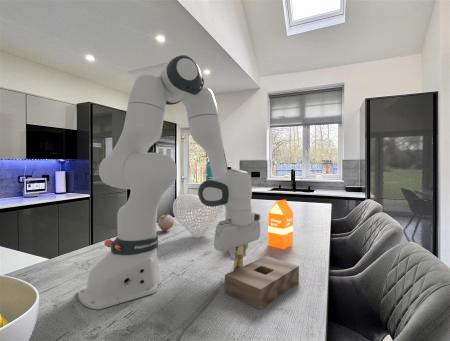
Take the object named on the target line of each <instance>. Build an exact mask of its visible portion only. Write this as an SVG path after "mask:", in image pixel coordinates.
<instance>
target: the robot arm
mask: <svg viewBox="0 0 450 341" xmlns="http://www.w3.org/2000/svg"><path fill="white" fill-rule="evenodd" d="M204 83H205V80H204V78H203V76H202V72H201V69H200V67H199V65H198V64H197V62H196V60H194V59H193V58H192V57H190V56H189V55H184V54H181V55H178V56H176V57H174V58H172V59H171V60H170V61H169V62H168V63H167V65H166V66H165V68H164V69H163V70H162V71H161V72H160V74H159V75H158V76H156V75H153V74H152V75H151V74H142V75H139V76H138V77H136V79H135V80H134V82H133V85H132V88H131V90H130V94H129V98H128V102H127V109H126V112H125V113H126V115H125V117H124V118H125V120H124V124H123V129H122V132H121V134H120V137H119V138H118V141H117V142H116V144H115V146H114V147H113V149H112V150H111V152H110V153H109V154H108V155H107V156H105V158H103V159H102V160H101V162H100V163H99V167H98V175H99V178H100V180H101V182H102V183H104V184H105V185H107V186H110V187H113V188H116V189H122V190H130V194H129V197H128V199H127V201H126V203H125V204H123V205H122V206H121V207H119V209H118V211H117V216H116V217H117V222H116V224H117V225H116V226H117V230H116V231H117V235H116V238H115V239H114V240H112V239H105V241H104V246H105V247H107V248H110V252H109V253H108V254H106V255H105V256H104V257H103V258H102V259H101V260H100V261H99V262H98V263H97V264H96V265H94V266H93V267H92V268H91V269H90V271H89V274H88V278H87V284H86V285H83V286H81V287H80V288H79V289H78V291H77V298H78V301H80V303H82V305H83V306H85V307H87V308H89V309H92V310H102V309H106V308H109V307H112V306H116V305H118V304H121V303H126V302H129V301H132V300H136V299H140V298H143V297H146V296H148V295H152V294H155V293H157V290H158V286H159V285H160V284H161V283H162V281H163V277H162V275H161V271H160V266H159V259H158V248H159V234H158V233H157V226H158V209H159V204H160V202H161V200H162V197H163V195H164V194H165V193H166V191H167V190H169V188H171V187H172V185H173V184H174V183H175V181H176V179H177V175H178V170H177V169H178V168H177V164H176V162H175V161H174V159H173V158H172V157H171V156H169V155H168V154H167V155H166V154H163V153H158V152H149V150H150V148H151V147H152V146H153V145H154V144H155V143H157V142H158V141H159V140H160V139H161V137H162V133H163V125H164V119H165V113H166V112H165V111H166V105H170V106H171V105H176V104H177V105H178V104H179V103H180V102H182V104H183V105H184V108H185V110H186V115H187V122H188V123H187V124H188V128H189V133H190V135H191V138H192V141H194V142H195V143H196V144H198V146H199V147H201V148H202V149H203V150H204V151H205V154H206V155H207V157H208V160H209V166H210V170H211V176H212V178H209V179H207V180H204V181H203V182H202V183H201V184H200V185H199V187H198V191H197V195H198V196H199V200H200V201H201V203H203V204H204V205H206V206H207V207H208V206H209V208H210V207H211V208H212V207H214V208H215V207H216V208H217V206H220V205H223V206H225V220H220V221H219V222H218V223H217V225H216V227H215V231H214V232H215V233H214V238H213V248H214V249H215V250H216V251H218V252H221V253H224V252H227V251H228V253H229V254H230V260H231V261H233V262H234V260H237V254H235V250H236V247H238V246H241V245H243V258H244V257H246V256H247V255H246V254H247V249H248V247H249V244H250V243H252V242H254V241H258V240H259V239H260V237H261V236H260V235H261V221H260V220H261V219H262V218H261V214H260V213H257V212H254V211H253V208H252V204H251V203H252V202H251V200H252V196H253V189H252V177H251V175H250V173H249V172H248V171H246V170H243V169H236V168H235V169H234V168H230V169H228V164H227V163H228V162H227V159H226V153H225V149H224V145H223V144H224V142H223V137H222V128H221V121H220V120H221V119H220V113H219V110H218V109H219V108H218V105H217V101H216V97H215V95H214V93H213V91H212V89H210V88H209V87H206V86H204V85H205V84H204Z"/></svg>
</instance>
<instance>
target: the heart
mask: <svg viewBox="0 0 450 341" xmlns="http://www.w3.org/2000/svg"><path fill="white" fill-rule="evenodd" d="M223 208H224V205H220V206H216V207H209V206H206V205H204V204H203V203H202V202H201V201H200V199H199V196H198V194H194V193H183V194H180V195H178V196H177V197H176V199H174V201H173V204H172V213H173V216H174V217H175V219H176V220H177V221H178V223H179V224H180V225H181V226H183V227H184V228H185V229H186V230H187V231H188V232H189V233H190V234H191V235H192V236H193V237H194V238H195V237H196V238H198V239H199V238H201V237H203V236H204V235H205V234H206V233H207V231H208V230H209V229H210V228H211V226H212V225H213V224H214V222H216V221H217V219H218V218H219V216H220V215H221V213H222V212H223Z"/></svg>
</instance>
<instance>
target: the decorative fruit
mask: <svg viewBox="0 0 450 341" xmlns="http://www.w3.org/2000/svg"><path fill="white" fill-rule="evenodd" d="M174 224H175V219H174V217H173V216H172V215H171V214H169V213H166V212H165V214H164V215H161V216H160V217H159V218H158V219H157V226H158V228H159V229H160V230H161V231H163V232H167V231H169V230H170V229H172V228H173V227H174Z"/></svg>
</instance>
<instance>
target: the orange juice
mask: <svg viewBox="0 0 450 341" xmlns="http://www.w3.org/2000/svg"><path fill="white" fill-rule="evenodd" d="M267 224H268V228H267V231H268V234H267V235H268V238H267V239H268V242H267V244H268V246H270V247H273V248H279V249H281V250H284V249H285V250H286V248H289V247H291V246H293V245H294V212H293V210H292V208H291V207H290V205H289V203H288V201H287V199H281V200H276V201H275V202H274V203H273V205H272V206H271V209H269V211H268V223H267Z"/></svg>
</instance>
